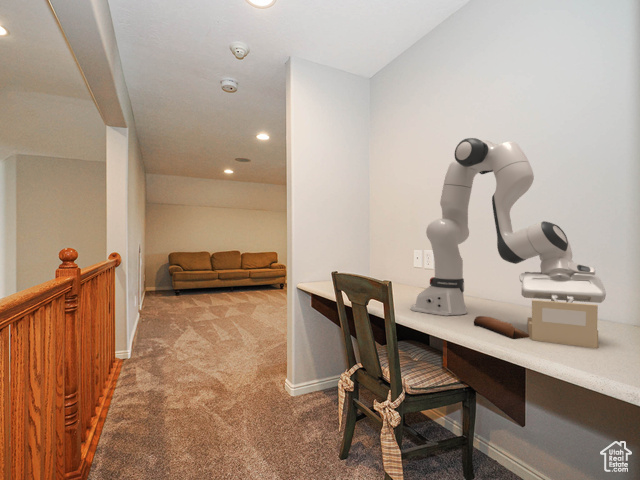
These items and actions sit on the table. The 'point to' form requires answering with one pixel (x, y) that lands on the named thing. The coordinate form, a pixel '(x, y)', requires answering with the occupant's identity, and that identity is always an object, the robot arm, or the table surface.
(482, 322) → the brown tapered cylinder
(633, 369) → the table surface
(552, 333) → the flap
